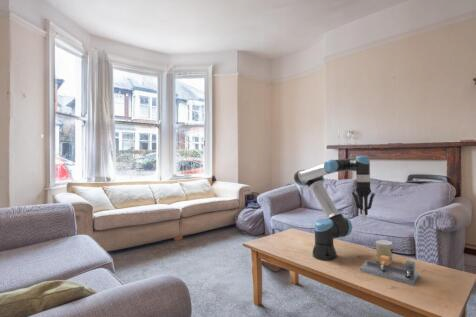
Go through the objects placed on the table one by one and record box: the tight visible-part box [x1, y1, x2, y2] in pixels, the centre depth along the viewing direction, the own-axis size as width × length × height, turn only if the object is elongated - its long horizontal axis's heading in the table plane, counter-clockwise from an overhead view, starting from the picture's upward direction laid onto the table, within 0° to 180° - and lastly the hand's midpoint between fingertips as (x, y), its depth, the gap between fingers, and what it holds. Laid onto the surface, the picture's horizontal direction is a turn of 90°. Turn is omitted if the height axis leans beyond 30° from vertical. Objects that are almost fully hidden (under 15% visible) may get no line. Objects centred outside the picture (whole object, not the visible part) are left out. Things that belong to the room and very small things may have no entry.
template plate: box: [359, 259, 419, 286], centre depth 147 cm, size 26×13×8 cm, turn 48°
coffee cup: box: [375, 239, 394, 265], centre depth 162 cm, size 9×9×12 cm
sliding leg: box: [380, 255, 391, 270], centre depth 149 cm, size 4×8×6 cm, turn 138°
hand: (364, 220), depth 160 cm, fingers closed
